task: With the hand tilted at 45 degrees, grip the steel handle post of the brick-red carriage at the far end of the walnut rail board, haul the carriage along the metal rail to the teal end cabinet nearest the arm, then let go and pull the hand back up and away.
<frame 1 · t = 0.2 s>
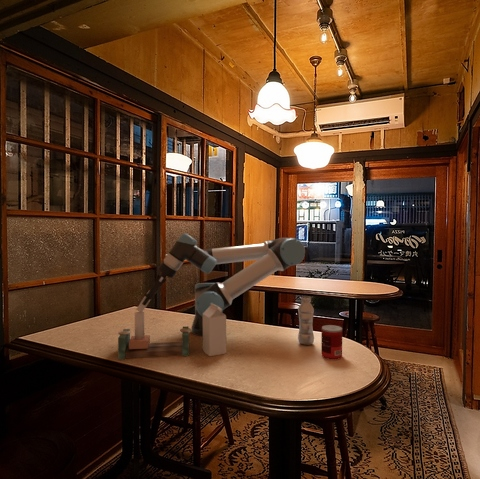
hand: (141, 307, 149), 15 cm above the table, tool tilted 35°, fingers open, 13 cm apart
rail board: (155, 351, 139), on the table
canned food: (331, 356, 134), on the table
plastic bottle: (305, 344, 148), on the table
carriage: (139, 329, 138), point 9 cm above the table, slide at 6.0 cm
milk carton: (214, 352, 139), on the table
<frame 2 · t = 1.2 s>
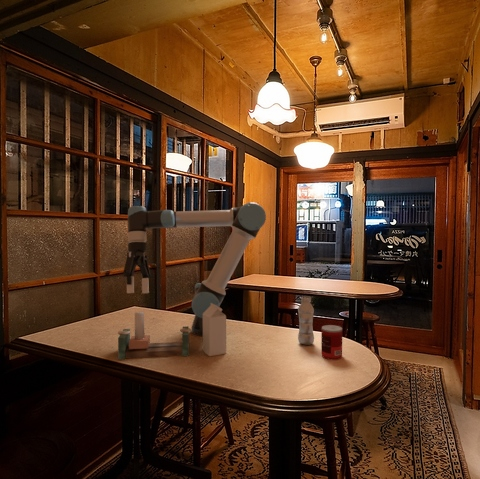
hand: (138, 293, 146), 22 cm above the table, tool pointing down, fingers open, 13 cm apart
nothing on the table moved.
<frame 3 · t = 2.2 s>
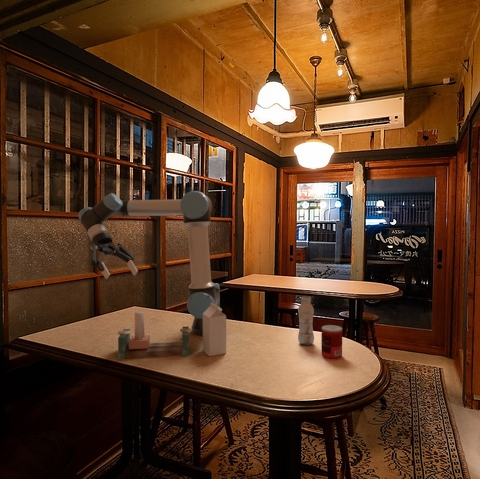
hand: (122, 275, 143), 30 cm above the table, tool tilted 45°, fingers open, 13 cm apart
nothing on the table moved.
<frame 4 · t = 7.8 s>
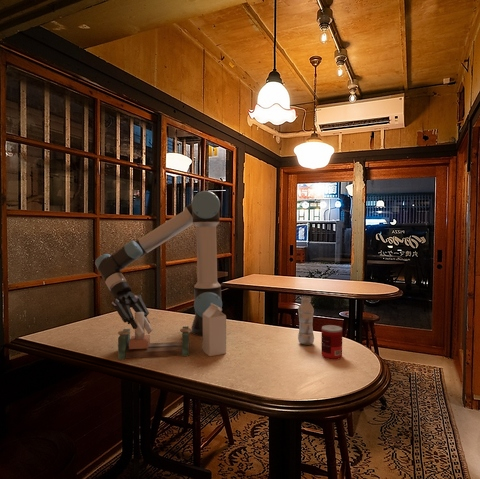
hand: (146, 333, 136), 8 cm above the table, tool tilted 45°, fingers closed on carriage, 4 cm apart
carriage: (139, 329, 138), point 9 cm above the table, slide at 6.0 cm, touching gripper
everything else where it was.
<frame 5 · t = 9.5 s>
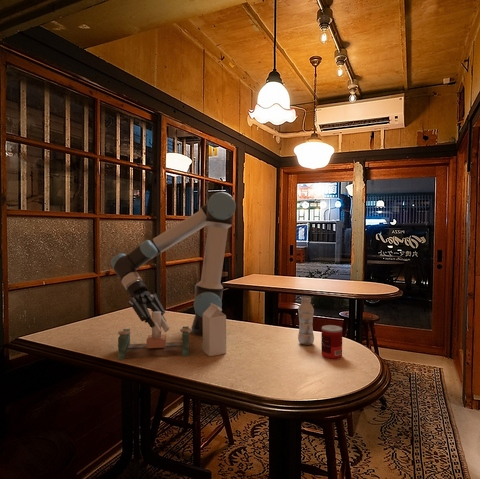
hand: (163, 331, 137), 9 cm above the table, tool tilted 45°, fingers closed on carriage, 4 cm apart
carriage: (156, 328, 139), point 9 cm above the table, slide at -0.5 cm, touching gripper
everything else where it was.
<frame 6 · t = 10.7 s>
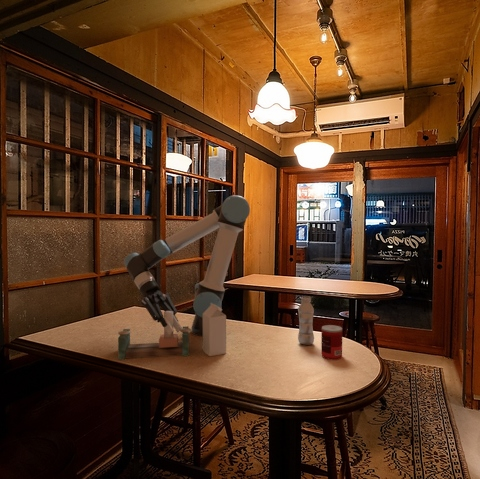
hand: (175, 331, 137), 9 cm above the table, tool tilted 45°, fingers closed on carriage, 4 cm apart
carriage: (168, 328, 140), point 9 cm above the table, slide at -5.2 cm, touching gripper
everything else where it was.
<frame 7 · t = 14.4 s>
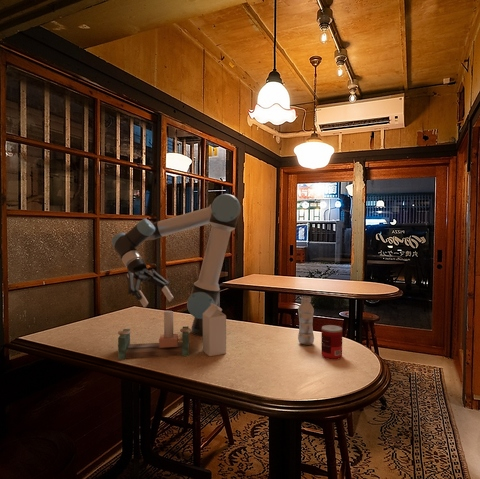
hand: (159, 302, 143), 19 cm above the table, tool tilted 45°, fingers open, 13 cm apart
carriage: (168, 328, 140), point 9 cm above the table, slide at -5.2 cm
everything else where it was.
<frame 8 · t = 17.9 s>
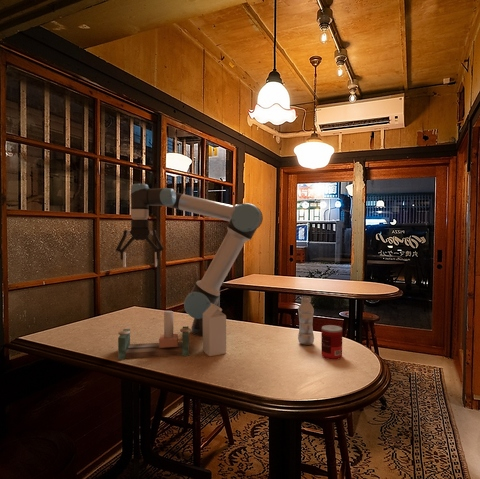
hand: (140, 267, 157), 32 cm above the table, tool pointing down, fingers open, 13 cm apart
nothing on the table moved.
at the end: carriage slide at -5.2 cm; the gripper is holding nothing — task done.
